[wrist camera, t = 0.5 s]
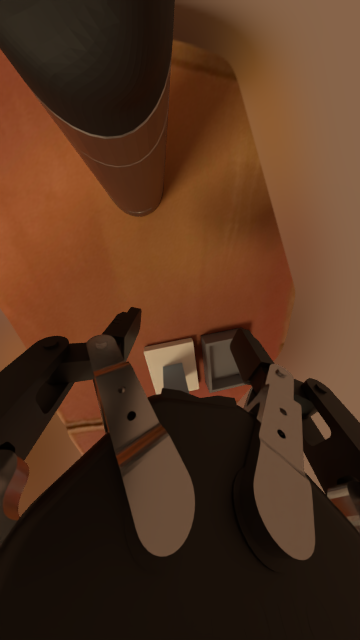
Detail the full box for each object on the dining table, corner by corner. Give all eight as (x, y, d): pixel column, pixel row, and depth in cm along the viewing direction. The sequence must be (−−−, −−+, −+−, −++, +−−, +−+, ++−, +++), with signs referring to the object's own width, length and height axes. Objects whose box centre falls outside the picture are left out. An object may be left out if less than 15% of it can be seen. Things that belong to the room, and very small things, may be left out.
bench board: (144, 347, 35) (143, 351, 33) (191, 337, 36) (193, 341, 34) (157, 392, 41) (157, 398, 39) (197, 383, 42) (199, 388, 40)
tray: (200, 335, 36) (205, 344, 32) (241, 327, 37) (250, 334, 33) (205, 381, 42) (209, 392, 39) (239, 373, 43) (247, 384, 39)
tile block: (162, 366, 36) (164, 413, 25) (182, 362, 36) (192, 406, 25) (166, 381, 38) (169, 430, 27) (184, 377, 38) (195, 424, 27)
